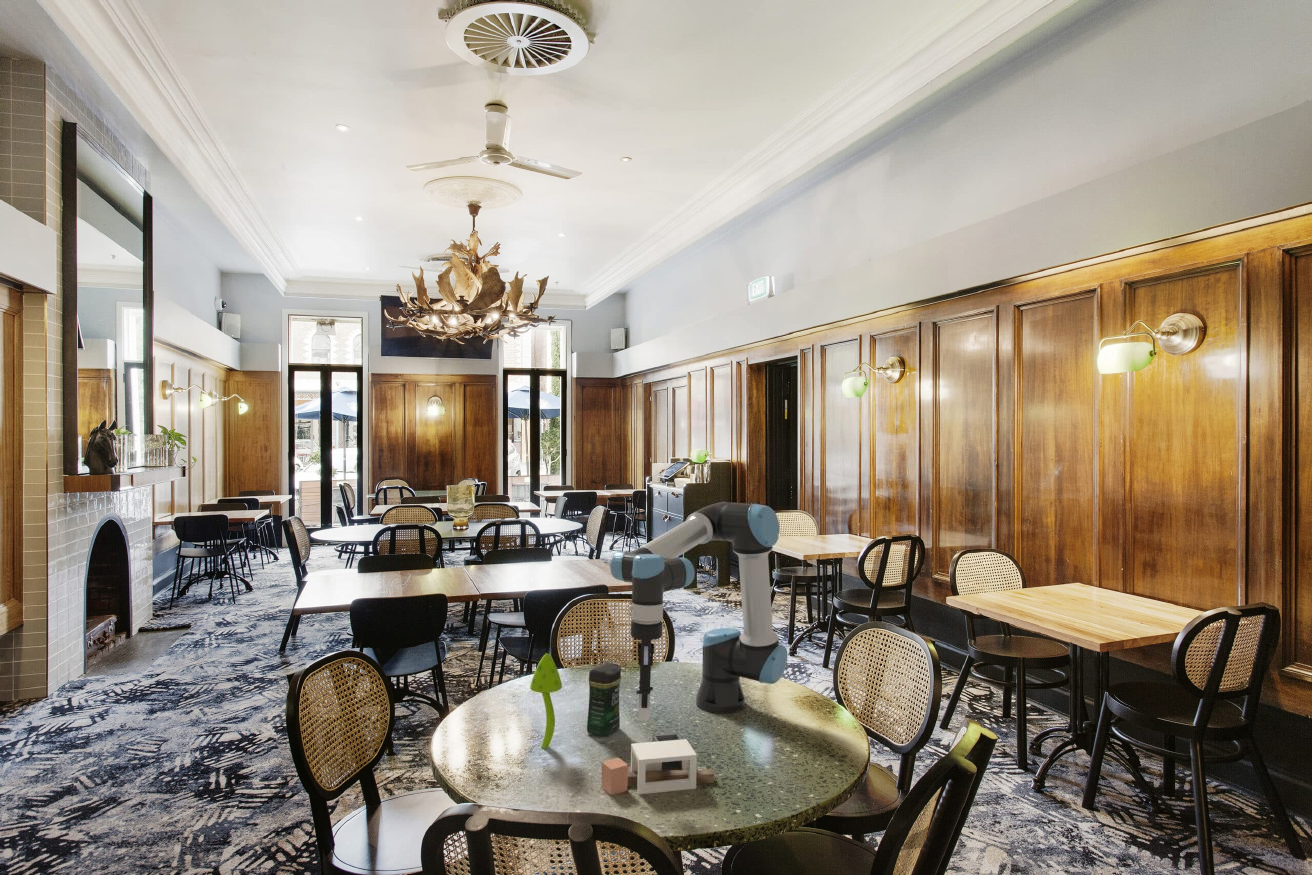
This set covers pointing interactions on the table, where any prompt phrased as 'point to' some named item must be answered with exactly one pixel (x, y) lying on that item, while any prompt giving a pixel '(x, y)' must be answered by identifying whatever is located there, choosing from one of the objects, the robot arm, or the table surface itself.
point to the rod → (671, 776)
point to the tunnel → (664, 762)
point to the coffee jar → (604, 700)
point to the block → (614, 776)
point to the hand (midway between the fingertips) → (643, 719)
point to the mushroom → (547, 691)
